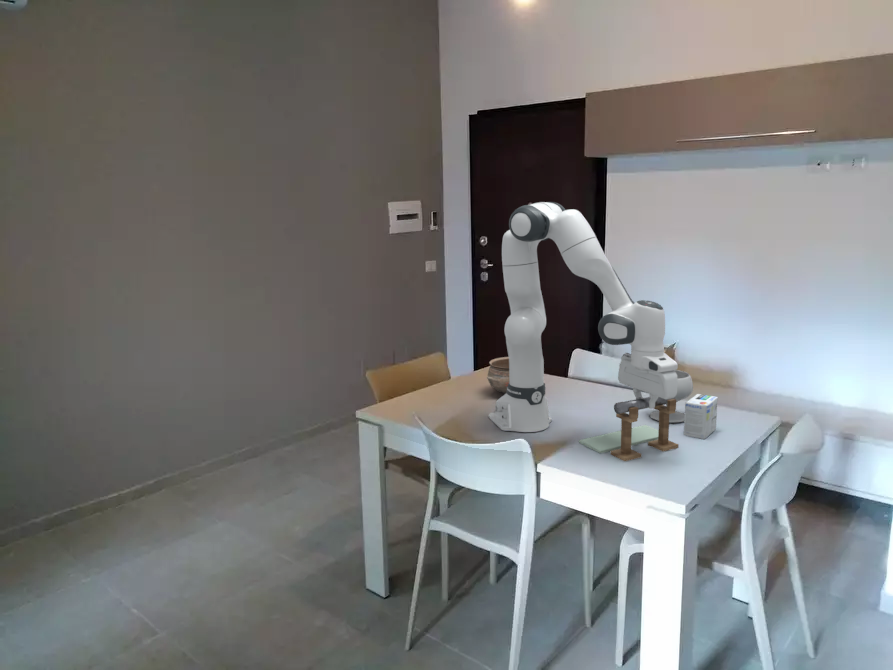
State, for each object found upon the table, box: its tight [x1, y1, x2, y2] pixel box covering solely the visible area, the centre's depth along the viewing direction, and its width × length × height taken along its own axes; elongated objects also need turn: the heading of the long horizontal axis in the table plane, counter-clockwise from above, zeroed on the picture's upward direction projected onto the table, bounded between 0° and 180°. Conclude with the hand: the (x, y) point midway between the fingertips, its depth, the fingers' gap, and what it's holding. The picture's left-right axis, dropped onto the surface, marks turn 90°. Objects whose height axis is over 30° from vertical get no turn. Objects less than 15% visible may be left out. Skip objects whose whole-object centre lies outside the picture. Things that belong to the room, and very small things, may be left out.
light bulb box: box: [683, 393, 719, 440], centre depth 202 cm, size 11×7×11 cm, turn 141°
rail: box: [613, 396, 675, 414], centre depth 188 cm, size 20×3×3 cm, turn 116°
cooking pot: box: [486, 356, 509, 395], centre depth 249 cm, size 25×19×12 cm
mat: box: [578, 424, 659, 454], centre depth 199 cm, size 10×26×1 cm, turn 116°
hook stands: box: [610, 399, 679, 462], centre depth 189 cm, size 6×20×15 cm, turn 116°
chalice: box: [649, 369, 694, 424], centre depth 216 cm, size 14×14×15 cm
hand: (645, 405), depth 188 cm, fingers closed on rail, 3 cm apart
